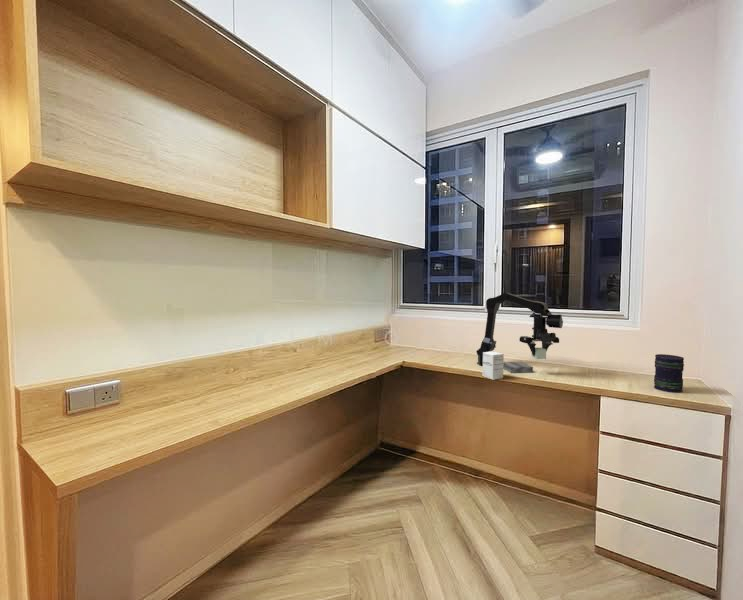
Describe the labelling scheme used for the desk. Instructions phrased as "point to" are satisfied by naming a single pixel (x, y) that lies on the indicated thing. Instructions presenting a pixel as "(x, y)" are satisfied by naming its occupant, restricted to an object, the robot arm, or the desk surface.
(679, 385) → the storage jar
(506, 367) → the charcoal base
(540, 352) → the sage cube
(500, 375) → the supplement box
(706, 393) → the desk surface
